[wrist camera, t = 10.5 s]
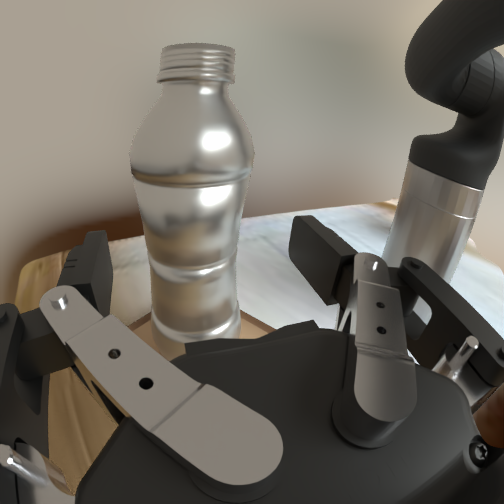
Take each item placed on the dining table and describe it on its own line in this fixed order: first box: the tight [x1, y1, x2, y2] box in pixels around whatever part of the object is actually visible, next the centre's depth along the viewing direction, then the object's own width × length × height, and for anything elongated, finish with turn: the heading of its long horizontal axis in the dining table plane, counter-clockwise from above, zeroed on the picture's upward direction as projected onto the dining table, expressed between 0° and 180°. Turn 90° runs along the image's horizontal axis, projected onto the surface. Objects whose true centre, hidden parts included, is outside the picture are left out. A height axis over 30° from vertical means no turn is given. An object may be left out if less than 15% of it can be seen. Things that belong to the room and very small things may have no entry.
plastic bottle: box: [129, 43, 255, 361], centre depth 16 cm, size 6×7×20 cm
